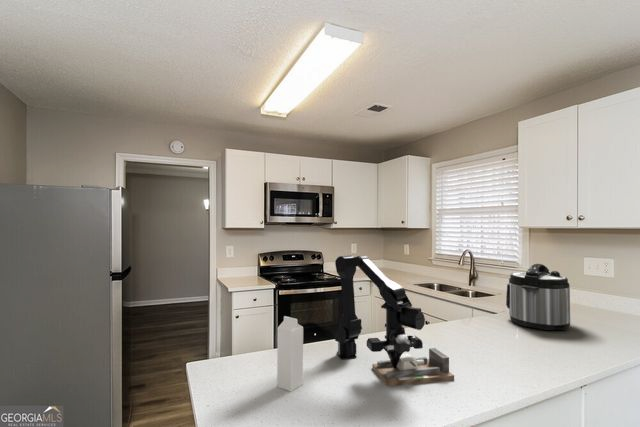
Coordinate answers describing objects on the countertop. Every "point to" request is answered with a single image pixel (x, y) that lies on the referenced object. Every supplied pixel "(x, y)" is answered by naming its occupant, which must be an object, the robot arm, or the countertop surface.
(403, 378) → the gauge base
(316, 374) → the countertop surface
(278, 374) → the milk
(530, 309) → the pressure cooker
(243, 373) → the countertop surface
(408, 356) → the carriage
